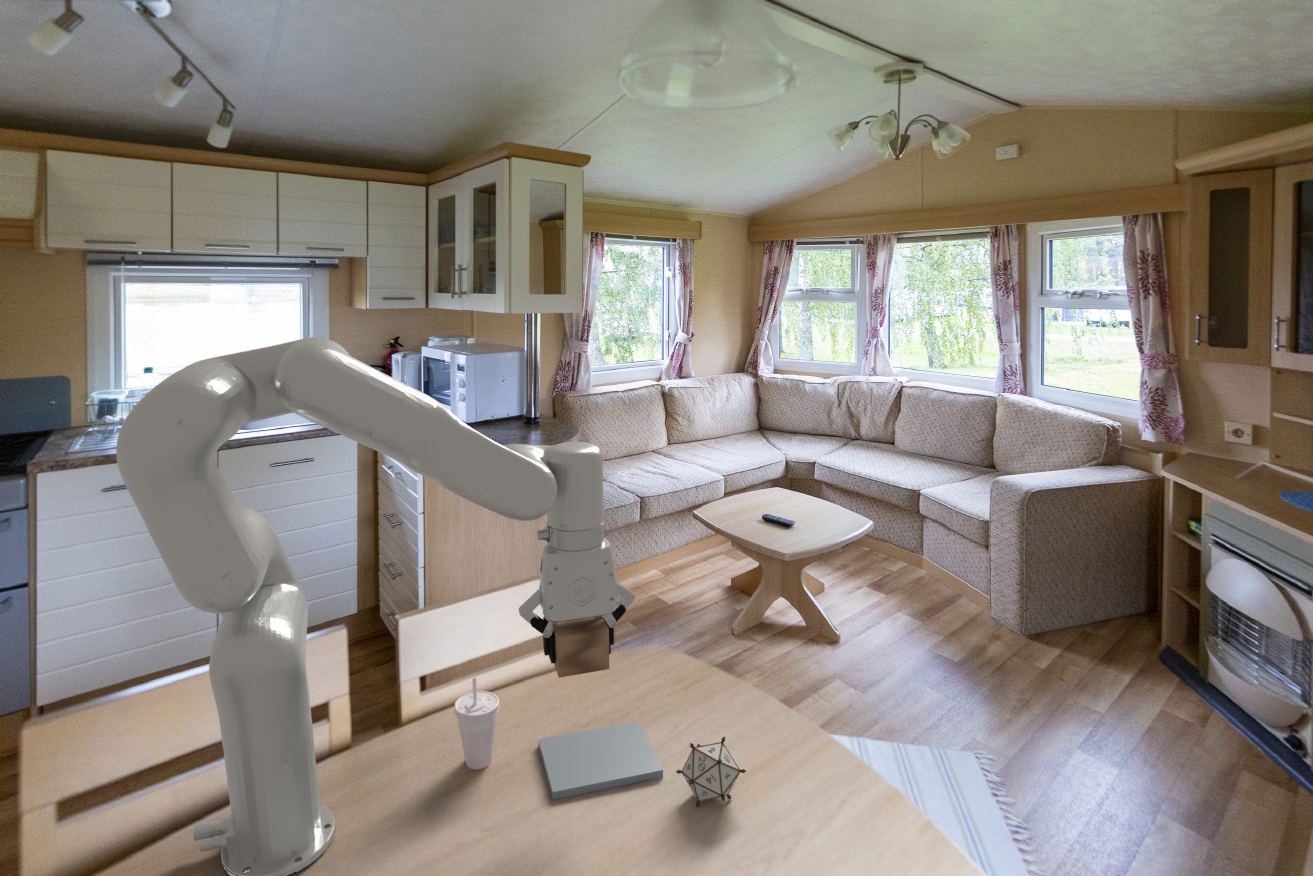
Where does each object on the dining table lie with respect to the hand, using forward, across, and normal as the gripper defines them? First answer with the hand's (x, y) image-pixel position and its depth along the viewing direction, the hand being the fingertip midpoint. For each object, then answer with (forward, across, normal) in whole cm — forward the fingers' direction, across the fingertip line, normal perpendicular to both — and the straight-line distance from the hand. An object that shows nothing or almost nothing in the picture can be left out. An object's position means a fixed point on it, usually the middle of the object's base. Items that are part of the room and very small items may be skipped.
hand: (579, 653), depth 101 cm
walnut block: (+1, 0, 0) cm, 1 cm away
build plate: (+19, +3, +1) cm, 19 cm away
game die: (+19, +16, -10) cm, 27 cm away
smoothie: (+19, -14, +6) cm, 24 cm away
